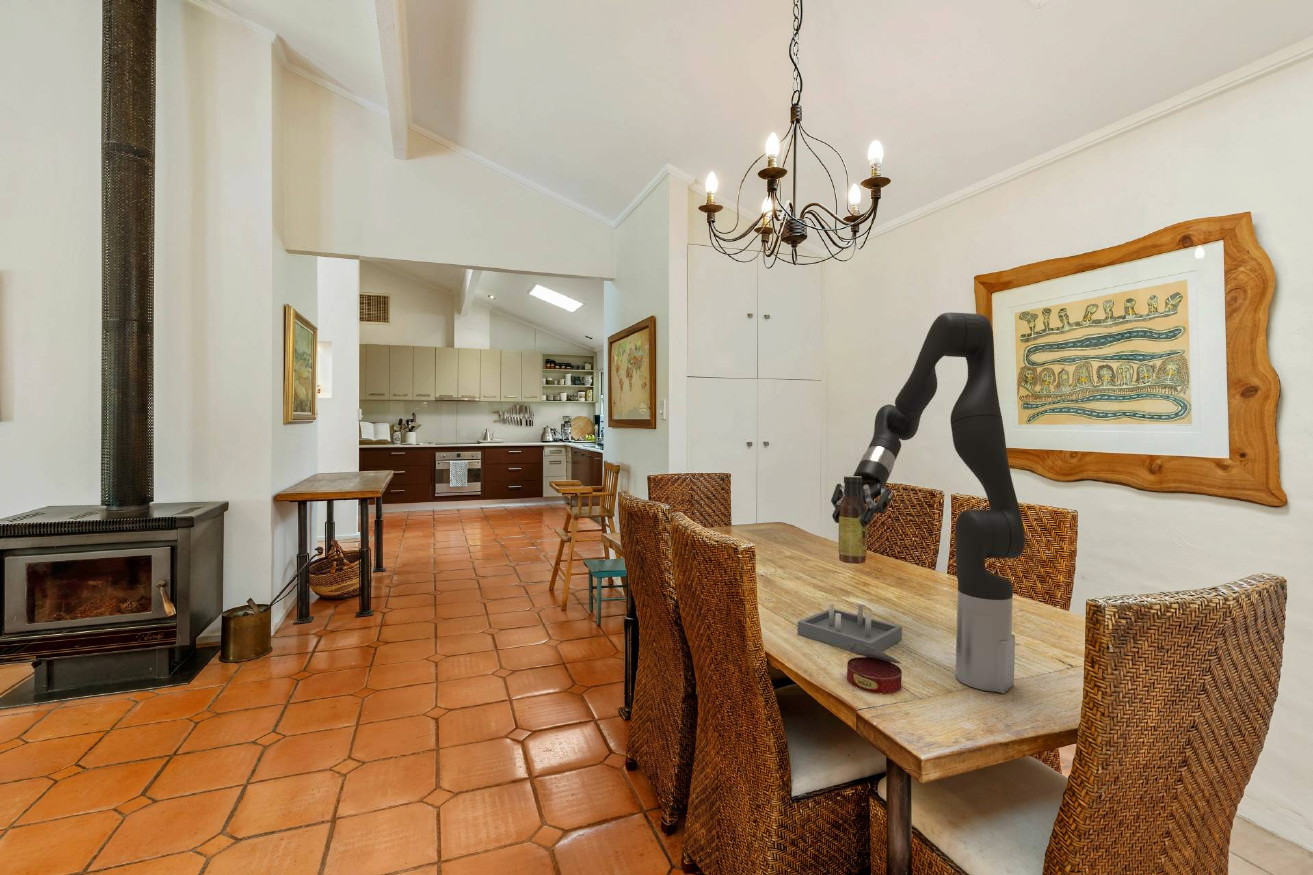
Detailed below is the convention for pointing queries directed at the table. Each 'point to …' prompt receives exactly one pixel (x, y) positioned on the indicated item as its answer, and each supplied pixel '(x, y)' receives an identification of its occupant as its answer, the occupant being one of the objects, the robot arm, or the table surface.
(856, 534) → the sauce bottle
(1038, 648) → the table surface
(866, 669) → the canned food
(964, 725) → the table surface
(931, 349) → the robot arm
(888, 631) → the pin tray
